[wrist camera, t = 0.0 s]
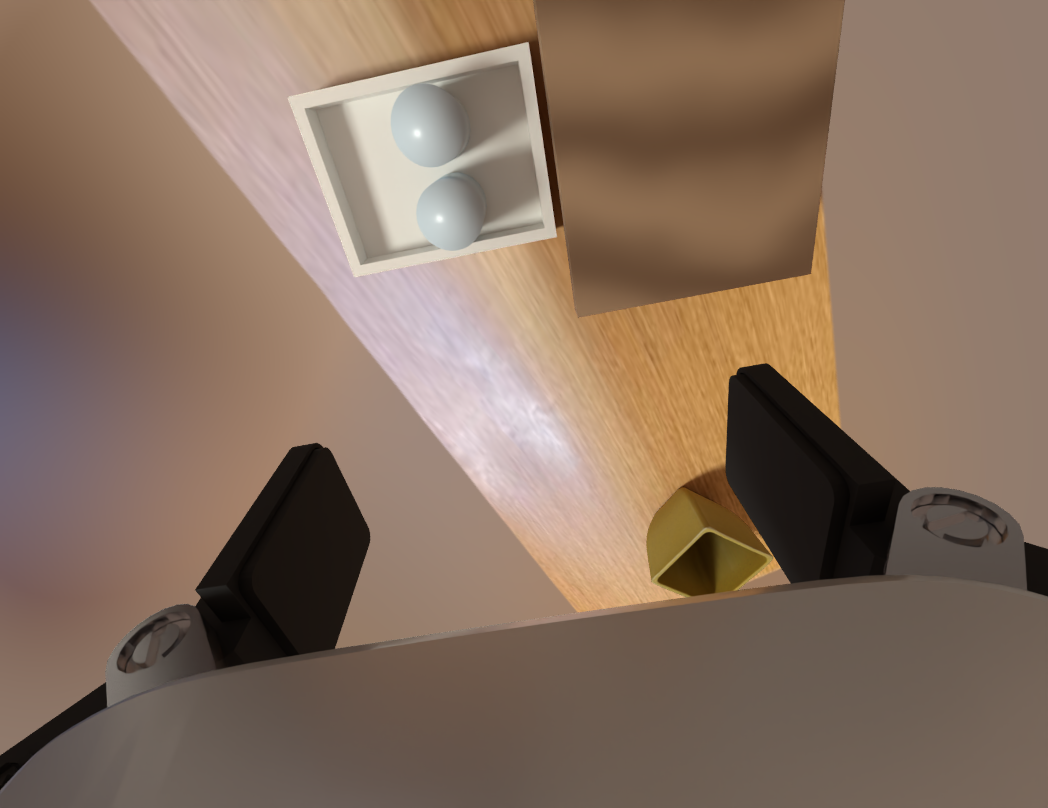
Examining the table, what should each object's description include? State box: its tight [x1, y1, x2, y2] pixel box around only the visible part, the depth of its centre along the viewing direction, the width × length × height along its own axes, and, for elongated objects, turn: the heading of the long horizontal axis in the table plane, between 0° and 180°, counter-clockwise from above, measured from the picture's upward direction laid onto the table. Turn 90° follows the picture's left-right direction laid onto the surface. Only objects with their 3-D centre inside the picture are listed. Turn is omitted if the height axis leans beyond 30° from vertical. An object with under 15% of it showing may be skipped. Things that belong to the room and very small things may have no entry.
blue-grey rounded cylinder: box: [416, 172, 487, 251], centre depth 34 cm, size 4×4×6 cm
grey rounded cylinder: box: [391, 83, 471, 167], centre depth 31 cm, size 4×4×6 cm
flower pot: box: [647, 487, 773, 597], centre depth 50 cm, size 9×9×9 cm
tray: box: [288, 42, 557, 277], centre depth 35 cm, size 12×16×3 cm
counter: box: [533, 0, 845, 318], centre depth 29 cm, size 18×14×12 cm
